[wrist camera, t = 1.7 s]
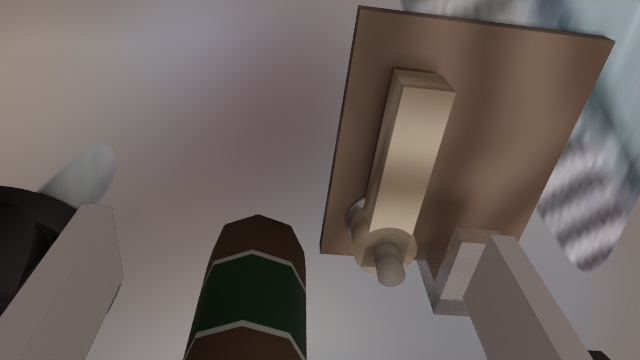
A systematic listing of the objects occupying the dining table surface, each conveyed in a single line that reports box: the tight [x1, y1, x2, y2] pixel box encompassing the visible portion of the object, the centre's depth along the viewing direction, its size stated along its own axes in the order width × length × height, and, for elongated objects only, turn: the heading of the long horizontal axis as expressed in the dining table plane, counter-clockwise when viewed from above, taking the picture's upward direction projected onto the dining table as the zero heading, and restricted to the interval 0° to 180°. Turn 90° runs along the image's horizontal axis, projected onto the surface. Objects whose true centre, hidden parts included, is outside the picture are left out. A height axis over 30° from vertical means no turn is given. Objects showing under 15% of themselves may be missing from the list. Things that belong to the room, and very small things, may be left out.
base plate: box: [320, 5, 616, 260], centre depth 31 cm, size 16×19×1 cm
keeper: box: [345, 195, 500, 316], centre depth 31 cm, size 10×7×6 cm
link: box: [350, 69, 456, 287], centre depth 28 cm, size 14×4×5 cm, turn 173°
